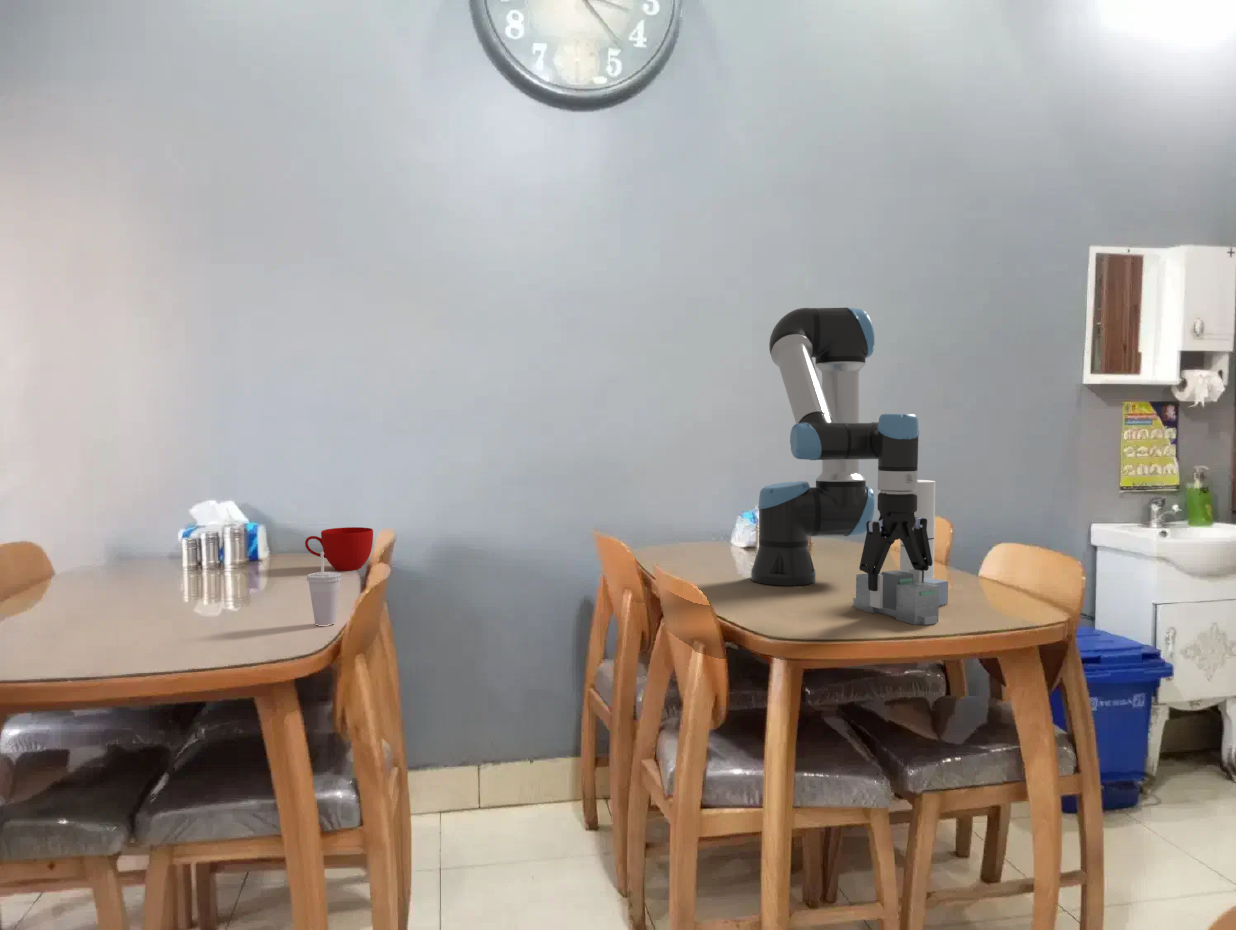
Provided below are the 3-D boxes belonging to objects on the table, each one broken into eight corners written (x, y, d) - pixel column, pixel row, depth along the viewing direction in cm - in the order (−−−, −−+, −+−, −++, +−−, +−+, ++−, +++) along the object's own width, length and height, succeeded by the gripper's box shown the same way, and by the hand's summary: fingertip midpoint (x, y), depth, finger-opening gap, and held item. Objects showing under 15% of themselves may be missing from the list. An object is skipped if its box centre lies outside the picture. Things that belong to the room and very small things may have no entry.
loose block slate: (912, 603, 196) (913, 580, 196) (927, 600, 199) (927, 577, 199) (933, 607, 192) (934, 583, 192) (947, 604, 195) (948, 580, 195)
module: (881, 606, 186) (881, 571, 186) (896, 604, 188) (896, 570, 187) (897, 611, 182) (898, 575, 181) (913, 609, 184) (913, 573, 183)
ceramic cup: (306, 566, 245) (305, 529, 245) (372, 563, 250) (371, 526, 250) (305, 575, 233) (304, 535, 232) (375, 571, 238) (374, 532, 237)
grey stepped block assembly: (847, 606, 194) (848, 572, 193) (870, 603, 196) (870, 570, 196) (918, 626, 176) (919, 589, 175) (942, 622, 178) (942, 586, 178)
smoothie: (330, 619, 184) (328, 548, 183) (349, 623, 180) (347, 551, 179) (301, 624, 179) (299, 552, 178) (320, 629, 175) (318, 555, 174)
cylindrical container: (935, 597, 202) (937, 482, 200) (901, 596, 203) (902, 482, 202) (931, 591, 209) (933, 479, 207) (898, 590, 210) (899, 479, 209)
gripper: (867, 496, 176) (865, 613, 177) (953, 491, 185) (951, 602, 187) (840, 493, 182) (839, 606, 184) (925, 488, 192) (923, 595, 194)
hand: (895, 604), depth 185 cm, fingers open, 9 cm apart
